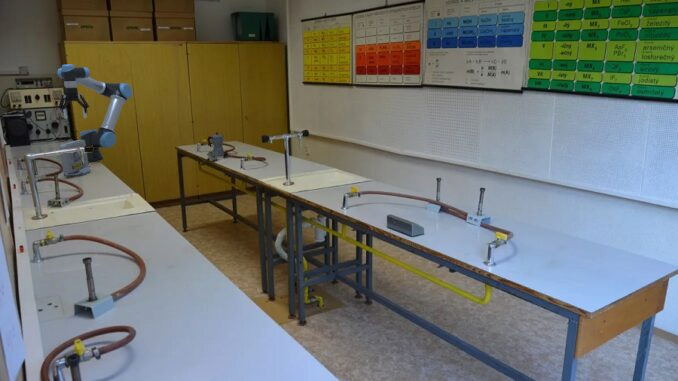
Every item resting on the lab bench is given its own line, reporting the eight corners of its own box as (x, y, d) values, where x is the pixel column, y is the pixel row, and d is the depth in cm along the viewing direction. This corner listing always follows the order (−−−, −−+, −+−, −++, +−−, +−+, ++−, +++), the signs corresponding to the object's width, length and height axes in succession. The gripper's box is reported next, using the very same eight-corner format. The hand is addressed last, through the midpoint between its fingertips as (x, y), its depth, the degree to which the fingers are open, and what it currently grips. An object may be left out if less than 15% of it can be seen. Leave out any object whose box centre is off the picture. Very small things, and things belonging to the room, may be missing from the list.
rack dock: (71, 172, 335) (70, 166, 334) (90, 172, 335) (89, 165, 334) (64, 176, 325) (63, 169, 324) (83, 175, 326) (82, 168, 324)
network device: (80, 168, 342) (76, 139, 337) (93, 168, 342) (88, 139, 337) (60, 176, 317) (55, 145, 312) (74, 176, 317) (69, 145, 312)
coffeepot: (222, 153, 398) (220, 131, 394) (229, 154, 392) (227, 131, 387) (205, 156, 387) (203, 133, 383) (212, 157, 381) (210, 134, 376)
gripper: (49, 88, 339) (55, 119, 344) (86, 87, 339) (91, 118, 344) (55, 87, 346) (60, 118, 351) (91, 86, 346) (96, 117, 352)
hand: (75, 118), depth 348 cm, fingers open, 13 cm apart
